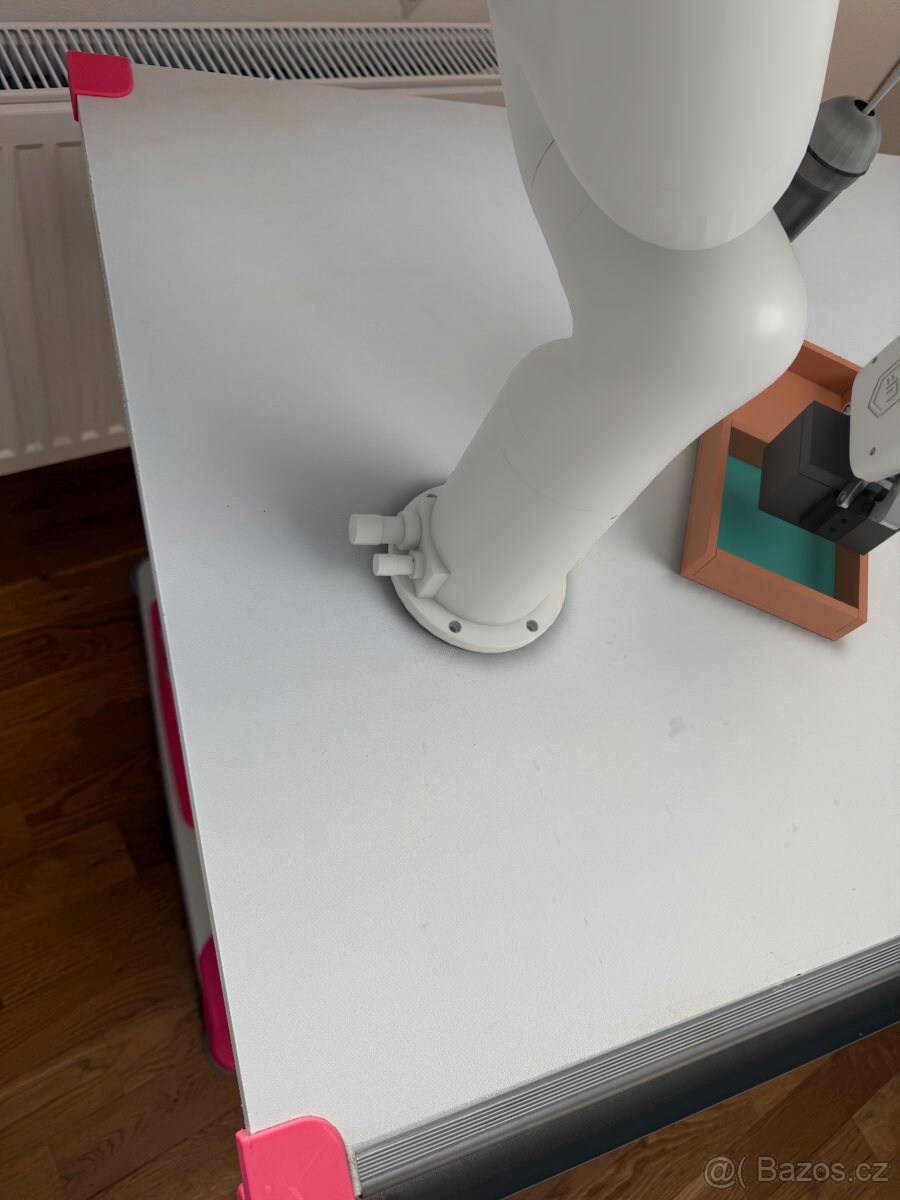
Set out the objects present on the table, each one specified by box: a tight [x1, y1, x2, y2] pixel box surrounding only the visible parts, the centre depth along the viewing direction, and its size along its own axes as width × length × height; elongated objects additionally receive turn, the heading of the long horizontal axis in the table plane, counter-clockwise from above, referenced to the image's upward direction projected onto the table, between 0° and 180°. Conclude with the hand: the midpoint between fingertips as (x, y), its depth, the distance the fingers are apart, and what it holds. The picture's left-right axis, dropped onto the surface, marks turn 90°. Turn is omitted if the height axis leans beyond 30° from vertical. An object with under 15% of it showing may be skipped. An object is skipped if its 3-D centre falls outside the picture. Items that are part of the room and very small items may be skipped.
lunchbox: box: [758, 400, 900, 556], centre depth 69 cm, size 9×6×6 cm, turn 76°
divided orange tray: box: [679, 338, 870, 642], centre depth 78 cm, size 14×26×4 cm, turn 166°
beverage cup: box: [773, 68, 900, 244], centre depth 85 cm, size 7×7×20 cm
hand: (820, 493), depth 71 cm, fingers closed on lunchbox, 6 cm apart
